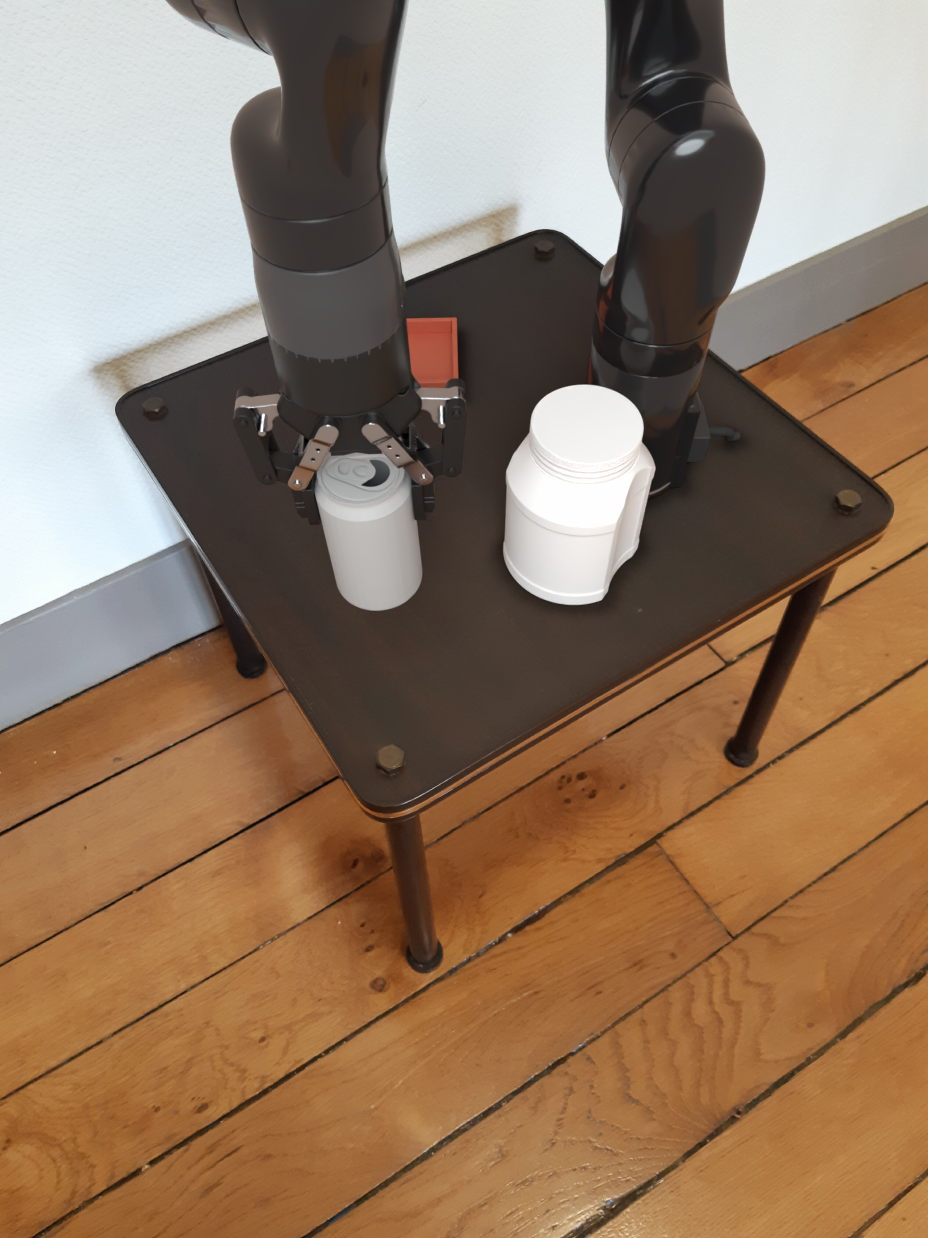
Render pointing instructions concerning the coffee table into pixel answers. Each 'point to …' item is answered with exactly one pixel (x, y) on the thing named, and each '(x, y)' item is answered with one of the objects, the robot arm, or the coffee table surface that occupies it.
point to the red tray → (433, 350)
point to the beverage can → (369, 529)
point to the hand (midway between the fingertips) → (368, 512)
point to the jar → (576, 494)
